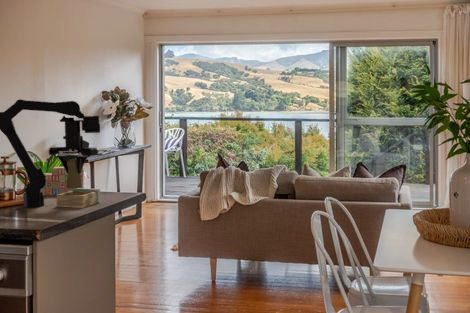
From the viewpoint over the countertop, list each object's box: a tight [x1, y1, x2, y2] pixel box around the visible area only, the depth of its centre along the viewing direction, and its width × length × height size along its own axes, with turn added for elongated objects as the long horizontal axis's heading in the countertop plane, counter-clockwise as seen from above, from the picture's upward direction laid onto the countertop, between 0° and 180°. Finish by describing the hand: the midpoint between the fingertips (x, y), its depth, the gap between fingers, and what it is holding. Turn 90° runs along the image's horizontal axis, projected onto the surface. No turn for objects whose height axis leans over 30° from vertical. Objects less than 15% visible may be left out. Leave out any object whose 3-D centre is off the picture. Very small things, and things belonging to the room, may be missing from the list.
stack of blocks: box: [40, 166, 84, 196], centre depth 253 cm, size 21×6×12 cm, turn 85°
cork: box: [66, 158, 82, 189], centre depth 222 cm, size 6×6×11 cm
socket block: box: [55, 191, 98, 209], centre depth 221 cm, size 11×11×4 cm
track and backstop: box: [71, 187, 101, 204], centre depth 219 cm, size 19×12×6 cm, turn 164°
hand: (73, 173), depth 221 cm, fingers closed on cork, 5 cm apart
